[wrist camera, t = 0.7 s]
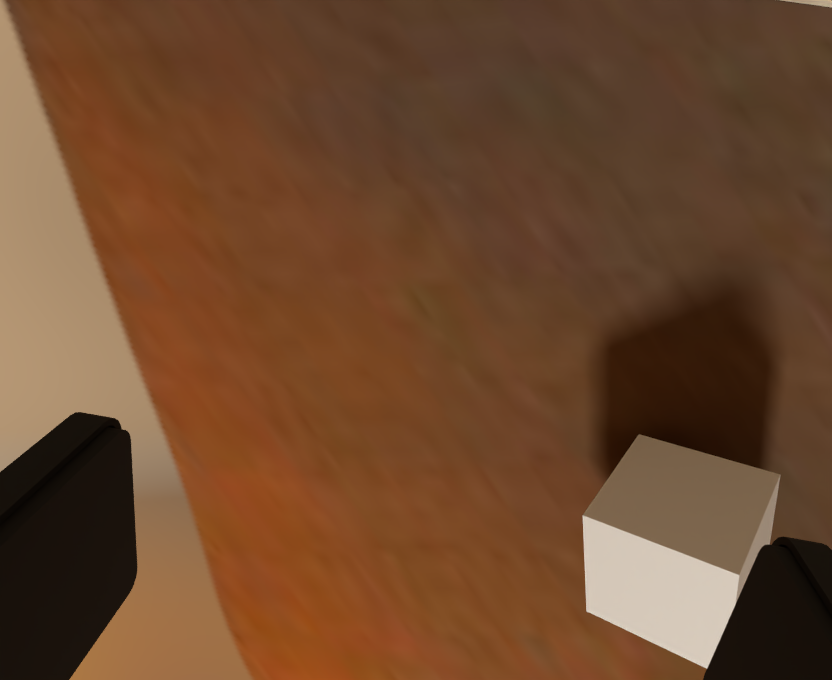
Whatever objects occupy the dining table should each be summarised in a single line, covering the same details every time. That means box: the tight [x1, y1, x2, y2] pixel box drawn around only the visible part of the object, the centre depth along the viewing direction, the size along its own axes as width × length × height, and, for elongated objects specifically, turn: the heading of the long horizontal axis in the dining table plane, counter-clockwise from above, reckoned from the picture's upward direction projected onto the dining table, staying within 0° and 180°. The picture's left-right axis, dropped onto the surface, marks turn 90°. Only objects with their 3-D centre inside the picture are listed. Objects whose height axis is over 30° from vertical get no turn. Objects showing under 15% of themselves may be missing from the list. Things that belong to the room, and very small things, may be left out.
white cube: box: [583, 434, 780, 668], centre depth 28 cm, size 6×6×6 cm
